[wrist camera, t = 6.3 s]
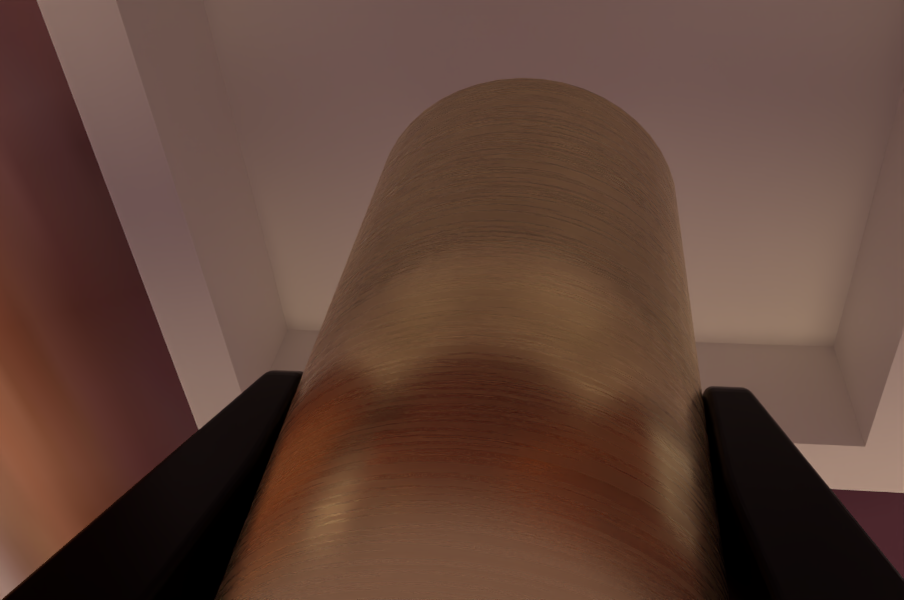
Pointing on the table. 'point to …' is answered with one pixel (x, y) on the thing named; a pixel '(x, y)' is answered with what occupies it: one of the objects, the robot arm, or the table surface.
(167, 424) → the table surface
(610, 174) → the brass peg
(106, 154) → the tray
